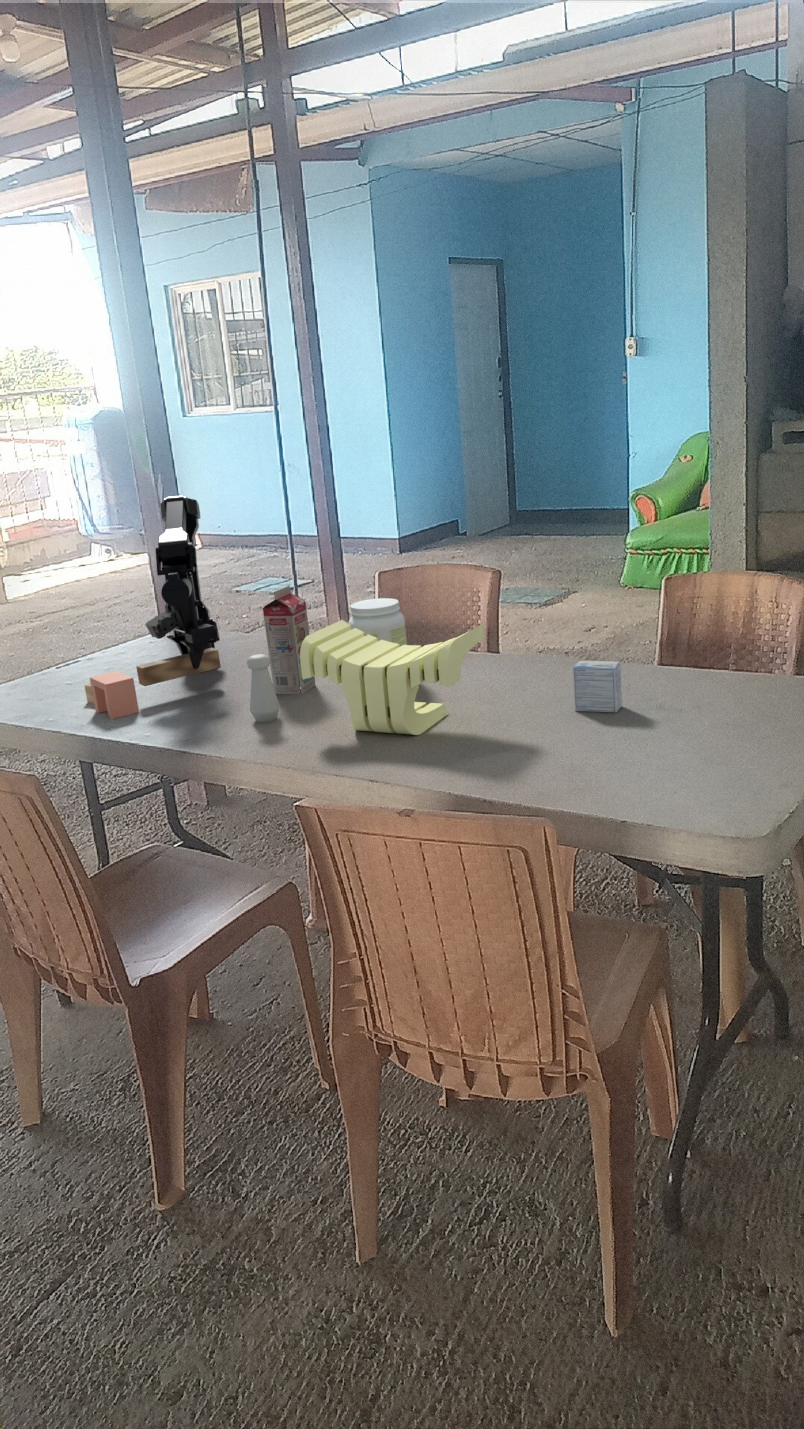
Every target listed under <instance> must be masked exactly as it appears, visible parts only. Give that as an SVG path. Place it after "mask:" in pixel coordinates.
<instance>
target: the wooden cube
mask: <svg viewBox="0 0 804 1429" xmlns="http://www.w3.org/2000/svg"><path fill="white" fill-rule="evenodd" d="M84 692H85V696H86V701H87V703H88V704H94V698H93V693H92V688H91V682H90V683H88V684H84Z"/></svg>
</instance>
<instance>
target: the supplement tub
mask: <svg viewBox="0 0 804 1429" xmlns="http://www.w3.org/2000/svg"><path fill="white" fill-rule="evenodd" d="M349 608H350V615H351V617H350V618H349V620H348V622H347V623H348V624H350V625H351V630H352V629H354V628H357V629H359V630H361V631H362V632H364V636H366V635H368V634H369V635H371V636H374V637H376V638H377V640H378V641H380V640H385V641H388V642H392V643H397V644H399V646H400V647H401V646H402V645H408V642H407V641H408V640H407V631H406V630H407V629H406V620H405V616H404V615H403V613H401V611H400V610H401V606H400V602H399V600H398V599H396V598H387V597H382V598H381V597H380V598H371V599H365V600H358V601H356V602H354V603H351V604H350V606H349Z"/></svg>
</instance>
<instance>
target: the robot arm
mask: <svg viewBox="0 0 804 1429" xmlns="http://www.w3.org/2000/svg"><path fill="white" fill-rule="evenodd" d="M159 507H160V512H161V513H160V515H161V520H162V521H163V523H165V524H164V525H165V526H164V528H165V529H164V532H163V533H162V534H160V535H159V537H158V542H157V545H156V546H155V560H156V575H157V577H158V576H159V577H160V576H164V579H165V580H164V581H165V582H164V583H163V586H161V592H160V594H161V597H162V599H163V601H164V602H165V605H164V609H165V611H163V612H162V613H159V614H158V615H156V616H155V617H153V618H151V619H150V620H148V621H147V622H146V623H145V627H146V628H147V631H148V632H149V634H150V636H151V637H152V638H155V639H158V640H159V639H163V638H165V637H166V638H167V639H168V640H170V641H172V642H173V643H174V644H175V645H176V646H177V648H178V650H179V652H180V655H184V654H188V653H189V656H190V659H191V663H192V665H193V668H194V669H198V668H199V666H200V662H201V659H202V656H203V653H204V650H205V649H209V648H214V649H216V646H215V644H216V643H217V642H219V641H220V634H219V628H218V624H217V623H218V622H216V621H215V619H214V617H213V616H212V617H211V611H210V609H209V608H208V607H207V606H206V604H205V603H204V602H203V599H202V593H201V585H200V578H199V576H200V575H199V570H198V561H197V560H198V557H197V548H196V544H195V536H196V534H197V532H198V530H199V527H200V525H199V524H200V523H199V520H200V519H201V511H200V510H201V509H200V504H199V502H198V501H197V499H194V498H189V497H187V496H186V495H185V496H184V495H173V496H166V497H165V498H164V499H163V501H162V502H160V506H159ZM167 634H169V635H167ZM166 635H167V636H166ZM220 666H221V664H220Z"/></svg>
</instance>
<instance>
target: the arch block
mask: <svg viewBox="0 0 804 1429" xmlns="http://www.w3.org/2000/svg"><path fill="white" fill-rule="evenodd" d="M89 680H90V681H89V682H90V683H91V688H92V693H93V698H94V703H93V704H94V708H95V712H97V713H100V714H101V713H105V712H107V715H108V719H109V720H110V719H111V720H114V719H119V718H122V717H126V716H130V715H133V714H138V713H139V712H140V708H139V704H138V698H137V693H136V686H135V680H134V677H132V676H130V675H127V674H125V673H122V672H120V671H117V670H114V671H110V672H106V673H102V674H98V675H94V676H89Z"/></svg>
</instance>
